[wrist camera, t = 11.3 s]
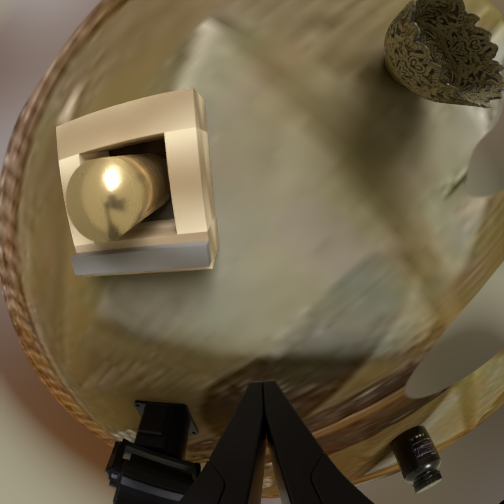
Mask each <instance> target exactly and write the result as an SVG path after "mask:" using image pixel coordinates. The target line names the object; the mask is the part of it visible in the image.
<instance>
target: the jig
mask: <svg viewBox="0 0 504 504" xmlns="http://www.w3.org/2000/svg"><path fill="white" fill-rule="evenodd" d="M56 134H57V148H58V158H59V167H60V175H61V182H62V188H63V194H64V200H65V205H66V191H67V186H68V183H69V180H70V178H71V176H72V174H73V173H74V171H75V170H76V169H77V168H78V167H79V166H80V165H81V164H83V163H84V162H86V161H89V160H91V159H97V158H104V157H109V151H111V150H115V149H119V148H123V147H127V146H131V145H136V144H140V143H145V142H150V141H155V140H160V139H165V146H166V156H167V165H168V173H169V181H170V189H171V196H172V204H173V210H174V217H175V219H166V220H157V221H149V222H141V223H138V224H136V225H135V226H134V227H132V228H131V229H130V230H128V231H127V232H126V233H125V234H123V235H122V236H121V237H119V238H118V239H116V240H114V241H111V242H107V243H98V242H94V241H91V240H89V239H87V238H86V237H84V236H83V235H82V234H80V233H79V232H78V230H77V229H76V228H75V227H74V225H73V223H72V222H71V220H70V217H69V215H68V211H67V215H68V220H69V225H70V229H71V233H72V237H73V241H74V245H75V249H76V254H75V255H73V256H72V257H71V262H72V265H73V268H74V272H75V275H83V276H84V277H89V276H107V275H125V274H141V273H157V272H173V271H187V270H202V269H213V265H214V262H215V258H216V255H217V251H218V248H219V238H218V230H217V222H216V213H215V204H214V195H213V186H212V177H211V167H210V157H209V146H208V135H207V124H206V111H205V101H204V100H203V98H202V97H201V96H200V95H199V94H198V93H197V92H196V91H195V90H194V88H189V89H183V90H177V91H172V92H167V93H162V94H158V95H153V96H149V97H145V98H141V99H137V100H133V101H130V102H126V103H122V104H119V105H116V106H112V107H109V108H106V109H103V110H100V111H97V112H94V113H91V114H88V115H85V116H83V117H80V118H77V119H75V120H72V121H70V122H67V123H65V124H62V125H60V126H57V127H56ZM66 210H67V206H66Z"/></svg>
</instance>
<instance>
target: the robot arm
mask: <svg viewBox="0 0 504 504" xmlns="http://www.w3.org/2000/svg"><path fill="white" fill-rule="evenodd" d="M134 405H135V407H136V409H137V410H138V412H139V413H140V415H141V416H142V417H141V421H140V424H139V427H138V432H137V435H136V438H135V442H134V443H132V442H129V441H128V440H126V439H124V438H123V441H122V442H121V441H120V442H118V441H116V442H115V445H114V448H113V451H112V454H111V456H110V459H109V462H108V464H107V467H106V470H105V472H106V473H107V475H108V477H109V481H110V483H109V486H110V487H112V488H115V489H116V491H115V494H114V498H113V504H261V496H262V486H263V475H264V464H265V452H266V434H267V441H268V446H269V451H270V455H271V460H272V464H273V468H274V473H275V477H276V481H277V486H278V490H279V494H280V498H281V502H282V504H374V503H373V502H372V501H371V500H369V499H368V498H367V497H366V496H365V495H364V494H363V493H362V492H361V491H359V490H358V489H357V488H356V487H355V486H354V485H353V484H352V483H351V482H350V481H349V480H348V479H347V478H346V477H345V476H344V475H343V474H342V473H341V472H340V471H339V470H338V468H337V467H336V466H335V465H334V463H333V462H332V461H331V460H330V458H329V457H328V455H327V454H326V453H324V450H323V449H322V447H321V446H320V445H319V443H318V442H317V441H316V439H315V438H314V436H313V435H312V433H311V432H310V431H309V429H308V428H307V426H306V425H305V424H304V422H303V421H302V419H301V418H300V416H299V415H298V413H297V412H296V410H295V409H294V408H293V406H292V405H291V403H290V402H289V400H288V399H287V397H286V396H285V394H284V393H283V391H282V390H281V388H280V387H279V385H278V384H277V382H276V381H275V380H265V381H263V384H262V381H252V382H250V383H249V384H248V386H247V388H246V390H245V392H244V394H243V396H242V398H241V400H240V402H239V404H238V406H237V408H236V410H235V412H234V413H233V415H232V417H231V419H230V421H229V423H228V425H227V427H226V429H225V431H224V432H223V434H222V436H221V438H220V440H219V442H218V443H217V445H216V447H215V449H214V451H213V452H212V454H211V456H210V458H209V461H207V463H206V465H205V466H204V468H203V470H202V471H201V465H200V463H196V462H195V463H193V462H189V461H186V460H185V453H186V447H187V441H188V434H189V435H197V434H198V429H197V427H196V425H195V423H194V421H193V419H192V416H191V414H190V412H189V410H188V407H187V406H186V405H184V404H170V403H157V402H147V401H138V400H136V401H135V403H134ZM123 457H125V458H127V459H123ZM128 459H129V460H128ZM497 504H504V498H503V499H502V500H501V501H500V502H499V503H497Z"/></svg>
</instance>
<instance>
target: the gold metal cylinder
mask: <svg viewBox="0 0 504 504" xmlns="http://www.w3.org/2000/svg"><path fill="white" fill-rule="evenodd" d="M170 197H171V189H170V181H169V173H168V165H167V160H165V159H164V158H163V157H161V156H159V155H157V154H153V153H144V154H133V155H122V156H113V157H104V158H97V159H91V160H89V161H86V162H84V163H83V164H81V165H80V166H79V167H78V168H77V169H76V170H75V171H74V173H73V174H72V176H71V178H70V180H69V183H68V186H67V191H66V206H67V211H68V215H69V217H70V220H71V222H72V223H73V225H74V227H75V228H76V229H77V230H78V232H79V233H80V234H82V235H83V236H84V237H86V238H87V239H89V240H91V241H94V242H98V243H107V242H111V241H114V240H116V239H118V238H119V237H121V236H122V235H123V234H125V233H126V232H127V231H128V230H130V229H131V228H132V227H134V226H135V225H136V224H138V223H139V222H140V221H142V220H143V219H144V218H146V217H147V216H149V215H150V214H151V213H153V212H154V211H155V210H157V209H158V208H160V207H161V206H162V205H164V204H165V203H166V202H167V201H168V200H169V199H170Z"/></svg>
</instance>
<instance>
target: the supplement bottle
mask: <svg viewBox="0 0 504 504" xmlns="http://www.w3.org/2000/svg"><path fill="white" fill-rule="evenodd" d="M392 449H393V452H394V455H395V457H396V460H397V462H398V465H399V468H400V470H401V473H402V475H403V478H404V480H405V481H406V482H408V483H413V484H414V485H413V488H414V490H415V492H416V493H419V492H422V491H424V490H426V489H428V488H430V487H432V486H433V485H435V484H436V483H438V482H439V481H440V480H441V479H442V476H441V474H440V471H438V470H437V469H438V467H439V466H440V463H441V458H440V456H439V454H438V452H437V450H436V448H435V446H434V444H433V442H432V440H431V438H430V436H429V434H428V432H427V430H426V428H425V427H424V426H416V427H414V428H411V429H409V430H407V431H405V432H404V433H402V434H401V435H399V436H398V437H397V438H396V439H395V440H394V441H393V443H392Z"/></svg>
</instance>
